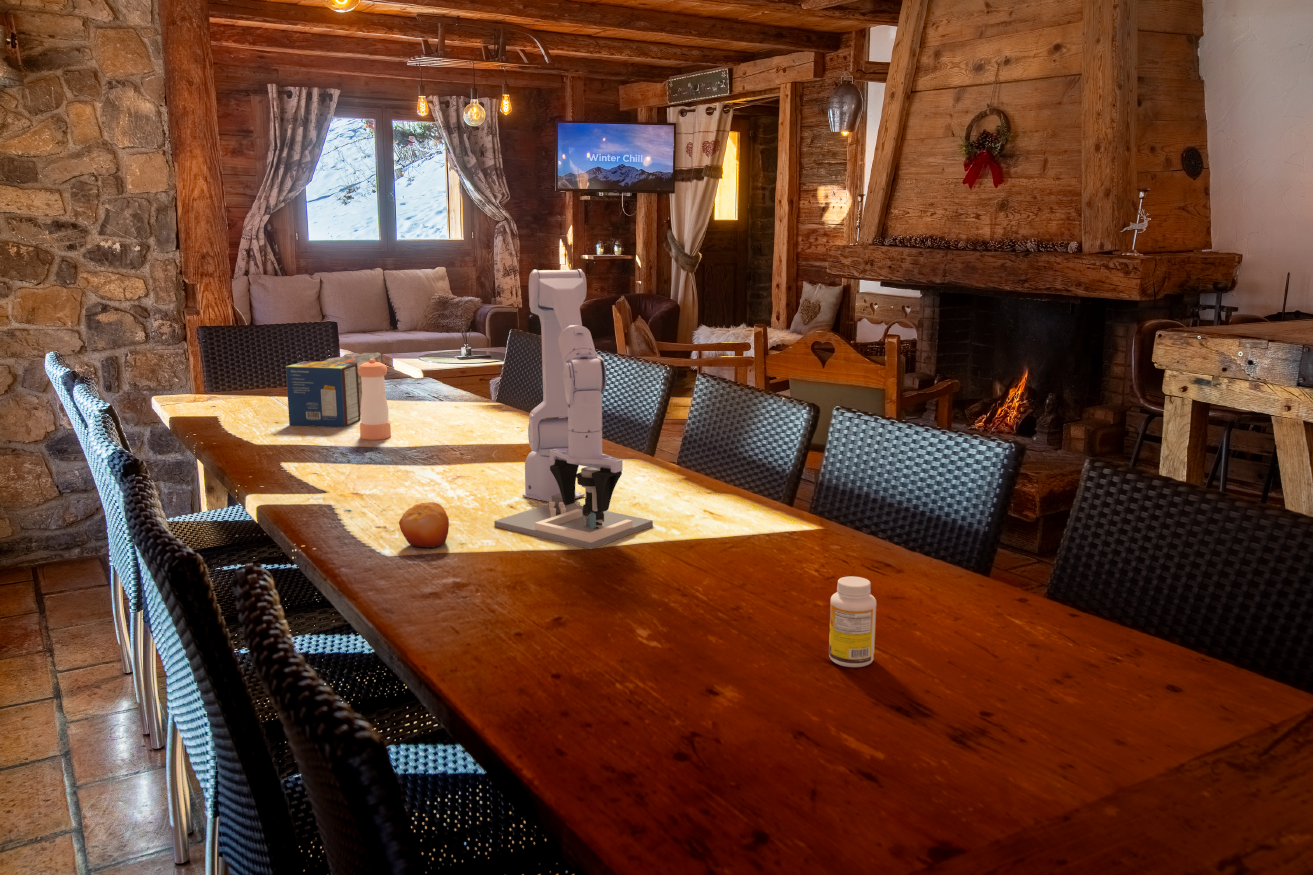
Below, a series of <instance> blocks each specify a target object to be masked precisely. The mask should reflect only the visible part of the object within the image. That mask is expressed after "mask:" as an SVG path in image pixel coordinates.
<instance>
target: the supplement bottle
mask: <svg viewBox="0 0 1313 875" xmlns="http://www.w3.org/2000/svg"><path fill="white" fill-rule="evenodd" d="M871 584H872V583H871V581H870V580H869V579H867V578H865V577H861V576H854V575H853V576H844V577H843V576H842V577H840V578H839V579H838V580H837V587H836V592H835V593H833V594H832V595H831V597H830V604H829V606H830V607H829V609H830V610H829V632H828V634H829V635H828V636H829V638H828V639H829V640H828V641H829V642H828V643H829V644H828V656H829V658H830V660H831V661H832V662H833V663H834V664H836V665H839V666H841V667H846V668H862V667H866V666H869V665H870V664H872V663H873V661H874V659H875V646H876V645H875V642H876V627H877V626H876V623H877V622H876V621H877V599H876V598H875V597H874V595H872V593H871V591H872V590H871V586H872V585H871Z"/></svg>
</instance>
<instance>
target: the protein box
mask: <svg viewBox="0 0 1313 875" xmlns="http://www.w3.org/2000/svg"><path fill="white" fill-rule="evenodd" d="M285 376H286V390H287V407H288V408H287V409H288V423H289V424H288V425H289V426H296V427H298V426H299V427H320V428H321V427H326V428H346V427H348V426H350V425H352V424H354V423H356V422H359V421H361V411H360V409H361V408H360V400H359V384H358V366H357V362H322V361H310V360H309V361H306V360H305V361H304V360H303V361H300V362H297V363H293V364H290V365H286V366H285Z"/></svg>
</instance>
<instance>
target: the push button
mask: <svg viewBox="0 0 1313 875" xmlns="http://www.w3.org/2000/svg"><path fill="white" fill-rule="evenodd" d="M580 471H581V472H577V474H576V480H577V483H576V484H577V485H579V486H581V488H585V492H584V494H585V498H584V503H583V504H582V506H583V509H582V522H583V525H584V526H586V525H587V526H589V527H590V528H592V529H596V528H604V527H603V526H602V523H604V513H603V512H598V510H597V495H596V488H595V483H594V480H593V477H592V473H594V472H597V471H600V469H598V468H592V467H587V466H584V467H582V468H581V469H580Z"/></svg>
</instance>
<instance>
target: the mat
mask: <svg viewBox="0 0 1313 875" xmlns="http://www.w3.org/2000/svg"><path fill="white" fill-rule="evenodd" d="M565 508H566V512H569V511H573V510H576V509H580V510H582V509H583V505H580V504H577V503H576V504H575V503H574V504H571V505H568V506H565ZM560 512H561V511H560ZM603 513H604V523H602V526H603V527H607V526H610V525H613V524H615V523H618V522H621V521H624V520H626V519H628V520H632V528H629V529H626V530H624V531H621V532H618V533H615V534H613V535H610V536H607V537H605V538H602V539H599V540H597V541H594V542H591V543H590V542H586V541H582V540H577V539H573V538H569V537H564V536H560V535H556V534H552V533H547V532H543V531H539V530H535V523H536V522H539V521H542V520H545V519H548V518H551V510H549V503H547V504H544V505H542V506H537V507H534V508H532V509H528V510H525V511H523V512H522V511H521V512H519V513H515V514H513V515H509V516H506V517H503V518H499V519H496V520H494V521H493V522H494V528H495V527H496V528H499V529H505V530H508V531H512V532H517V533H520V534H524V535H529V536H534V537H537V538H540V539H541V538H542V539H547V540H551V541H554V542H555V541H556V542H559V543H564V544H568V545H571V546H576V547H580V548H585V549H589V550H593V549H595V548H598V547H601V546H603V545H607V544H608V543H611V542H614V541H617V540H619V539H622V538H624V537H627V536H630V535H632V534H636V533H637V532H640V531H644V530H646V529H648V528H652V527H653V526H654V520H652V519H648V518H647V519H646V518H642V517H638V516H633V515H628V514H623V513H619V512H614V511H609V510H607V511H604V512H603ZM558 526H563V527H567V528H571V529H576V530H580V531H585V532H589V533H590V532H593V531H596V530H599V529H601V528H596V529H592V528H590V527H589V526H587V525H586V526H584V525H583V522H582V517H580V518H577V519H574V520H571V521H568V522H565V523H562V524H559V525H558Z"/></svg>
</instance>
